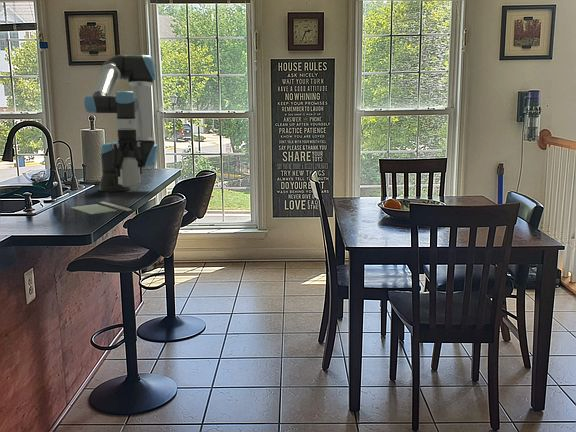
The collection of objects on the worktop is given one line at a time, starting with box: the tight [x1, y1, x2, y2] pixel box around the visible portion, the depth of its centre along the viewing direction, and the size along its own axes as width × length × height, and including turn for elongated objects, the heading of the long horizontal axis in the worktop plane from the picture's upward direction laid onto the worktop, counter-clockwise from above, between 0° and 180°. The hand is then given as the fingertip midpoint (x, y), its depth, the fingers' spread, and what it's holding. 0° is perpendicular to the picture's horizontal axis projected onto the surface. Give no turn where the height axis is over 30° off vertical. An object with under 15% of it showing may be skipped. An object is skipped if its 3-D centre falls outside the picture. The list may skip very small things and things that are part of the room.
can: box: [120, 157, 139, 188], centre depth 254 cm, size 8×8×12 cm
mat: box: [70, 203, 118, 215], centre depth 243 cm, size 11×18×1 cm, turn 43°
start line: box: [99, 201, 133, 212], centre depth 249 cm, size 2×24×1 cm, turn 43°
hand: (129, 183), depth 255 cm, fingers closed on can, 7 cm apart
